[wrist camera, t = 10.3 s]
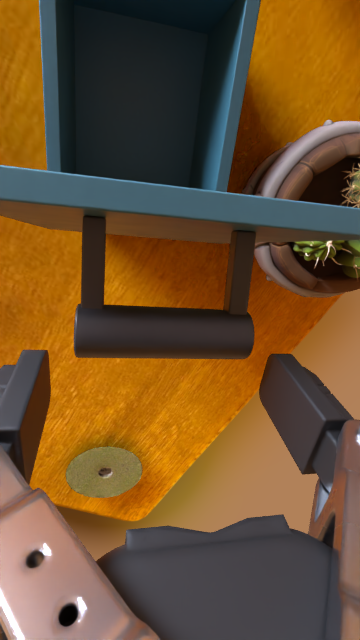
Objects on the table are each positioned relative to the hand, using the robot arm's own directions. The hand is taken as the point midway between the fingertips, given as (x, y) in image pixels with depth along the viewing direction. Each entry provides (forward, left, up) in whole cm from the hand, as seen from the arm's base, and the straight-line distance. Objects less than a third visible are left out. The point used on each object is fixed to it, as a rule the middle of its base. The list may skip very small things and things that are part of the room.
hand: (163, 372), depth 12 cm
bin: (-8, +4, -27) cm, 29 cm away
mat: (+33, -18, -27) cm, 46 cm away
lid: (-4, +2, -8) cm, 9 cm away
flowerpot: (+4, +17, -27) cm, 32 cm away
